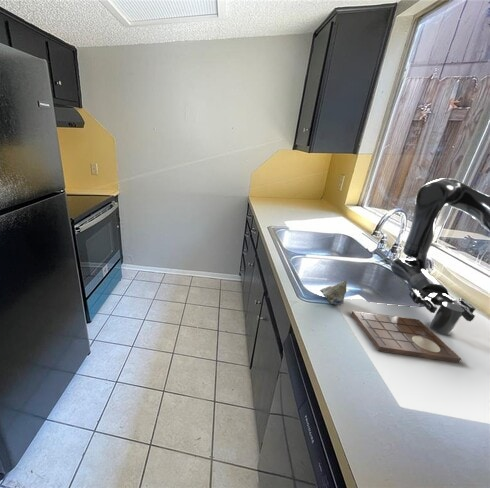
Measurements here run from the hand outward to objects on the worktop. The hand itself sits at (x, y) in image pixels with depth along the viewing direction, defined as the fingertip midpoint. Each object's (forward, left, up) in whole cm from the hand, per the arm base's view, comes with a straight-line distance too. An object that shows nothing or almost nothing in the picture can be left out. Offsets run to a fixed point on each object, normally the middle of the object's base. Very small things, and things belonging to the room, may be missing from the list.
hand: (452, 314), depth 78 cm
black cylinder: (0, -1, -7) cm, 7 cm away
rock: (+29, -10, -7) cm, 31 cm away
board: (+15, +5, -7) cm, 17 cm away
